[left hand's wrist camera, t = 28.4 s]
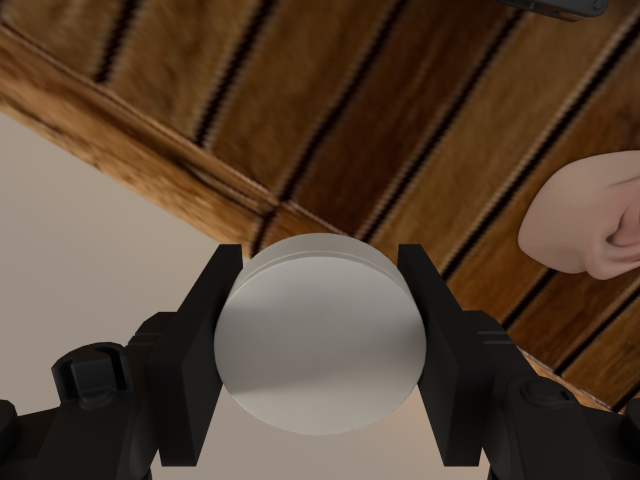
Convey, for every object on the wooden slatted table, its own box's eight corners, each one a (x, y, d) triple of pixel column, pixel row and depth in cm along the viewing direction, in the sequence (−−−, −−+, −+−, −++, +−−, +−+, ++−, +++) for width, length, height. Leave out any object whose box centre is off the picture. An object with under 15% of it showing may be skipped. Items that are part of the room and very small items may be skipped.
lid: (369, 411, 13) (376, 456, 12) (206, 364, 13) (190, 404, 11) (445, 269, 11) (464, 298, 10) (259, 204, 11) (247, 225, 9)
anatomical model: (530, 290, 34) (564, 153, 30) (509, 270, 38) (537, 145, 34) (685, 295, 34) (740, 159, 30) (649, 274, 38) (694, 151, 34)
